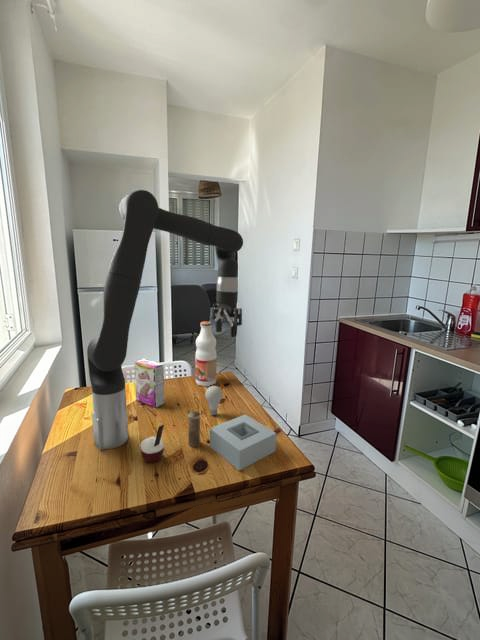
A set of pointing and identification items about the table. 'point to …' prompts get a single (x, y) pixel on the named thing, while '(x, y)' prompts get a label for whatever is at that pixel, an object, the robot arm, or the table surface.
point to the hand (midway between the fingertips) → (225, 334)
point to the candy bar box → (149, 382)
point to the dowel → (194, 428)
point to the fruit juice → (206, 356)
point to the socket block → (242, 441)
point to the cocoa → (153, 447)
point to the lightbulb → (213, 398)
